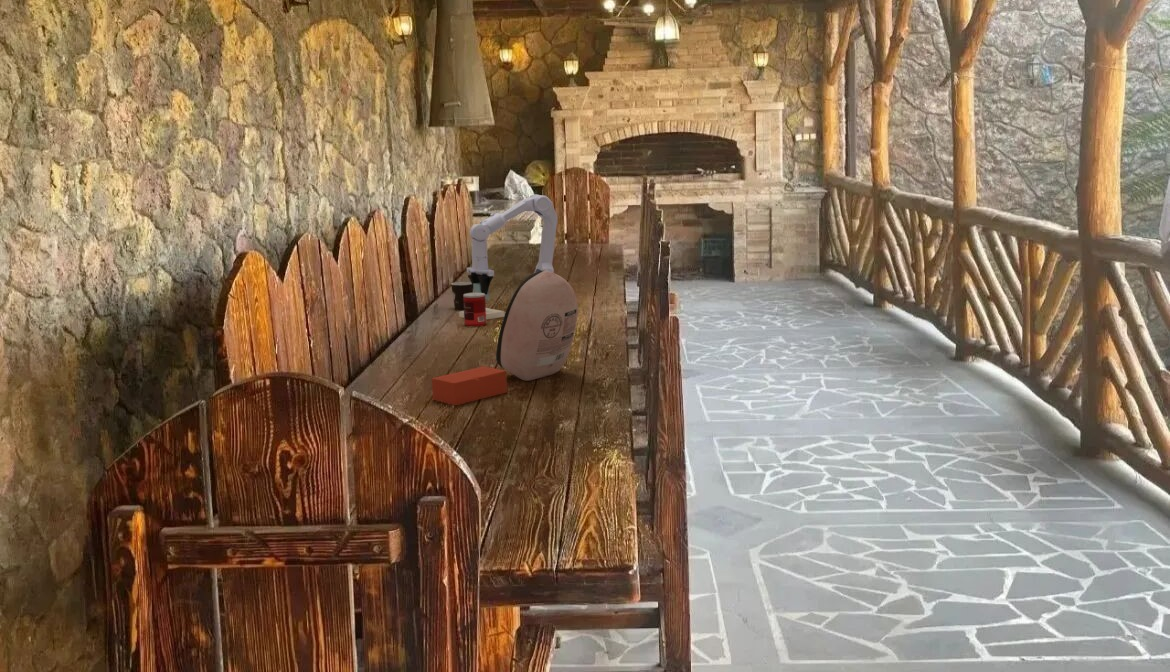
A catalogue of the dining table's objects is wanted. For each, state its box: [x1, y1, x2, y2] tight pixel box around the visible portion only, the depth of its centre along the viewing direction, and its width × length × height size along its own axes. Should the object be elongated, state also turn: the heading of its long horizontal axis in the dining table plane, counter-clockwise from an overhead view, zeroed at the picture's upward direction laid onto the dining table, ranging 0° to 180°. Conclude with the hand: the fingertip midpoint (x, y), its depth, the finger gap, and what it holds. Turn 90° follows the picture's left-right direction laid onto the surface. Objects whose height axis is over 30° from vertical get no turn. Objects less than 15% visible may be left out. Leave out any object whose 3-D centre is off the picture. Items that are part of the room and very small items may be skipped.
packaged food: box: [495, 271, 579, 382], centre depth 291 cm, size 22×20×30 cm
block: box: [473, 283, 490, 301], centre depth 391 cm, size 4×4×6 cm
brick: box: [431, 365, 508, 406], centre depth 273 cm, size 18×9×6 cm, turn 138°
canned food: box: [463, 292, 487, 327], centre depth 376 cm, size 8×8×11 cm
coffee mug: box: [450, 281, 474, 311], centre depth 412 cm, size 12×9×10 cm
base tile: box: [458, 307, 506, 320], centre depth 393 cm, size 12×12×2 cm
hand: (481, 293), depth 391 cm, fingers closed on block, 4 cm apart
